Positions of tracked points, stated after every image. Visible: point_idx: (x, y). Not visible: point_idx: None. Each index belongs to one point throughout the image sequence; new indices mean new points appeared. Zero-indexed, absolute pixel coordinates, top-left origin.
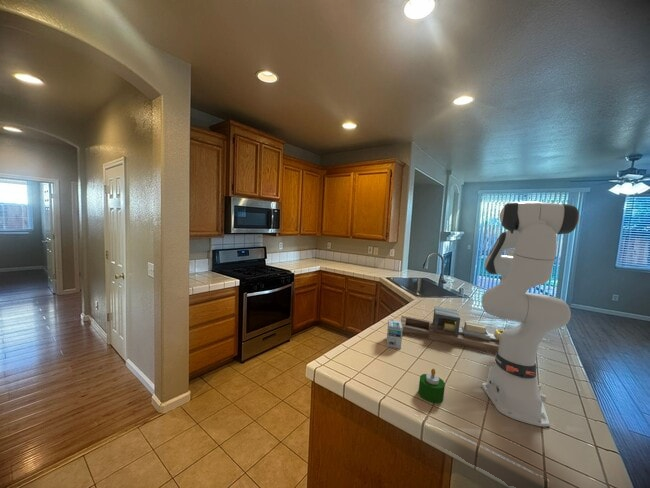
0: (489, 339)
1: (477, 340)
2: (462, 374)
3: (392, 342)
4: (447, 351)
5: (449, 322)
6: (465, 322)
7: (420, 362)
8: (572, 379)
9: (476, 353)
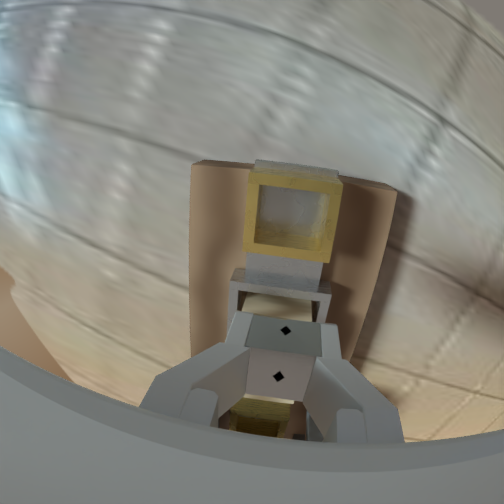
0: (329, 285)
1: (340, 332)
2: (494, 376)
3: None
4: (390, 398)
5: (237, 419)
6: (254, 396)
7: (445, 436)
8: (478, 39)
9: (388, 324)
